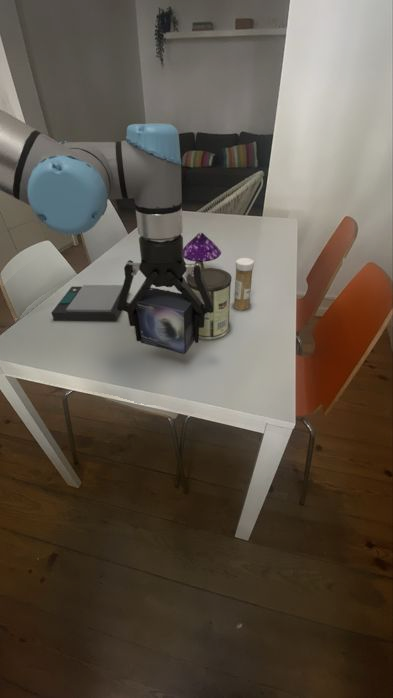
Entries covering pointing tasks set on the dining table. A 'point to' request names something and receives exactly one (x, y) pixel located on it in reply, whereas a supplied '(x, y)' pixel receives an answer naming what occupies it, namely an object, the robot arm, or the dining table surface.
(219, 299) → the coffee can
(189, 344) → the small box
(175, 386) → the dining table surface
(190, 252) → the decorative mushroom
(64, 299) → the scale
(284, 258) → the dining table surface
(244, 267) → the sprinkles bottle
